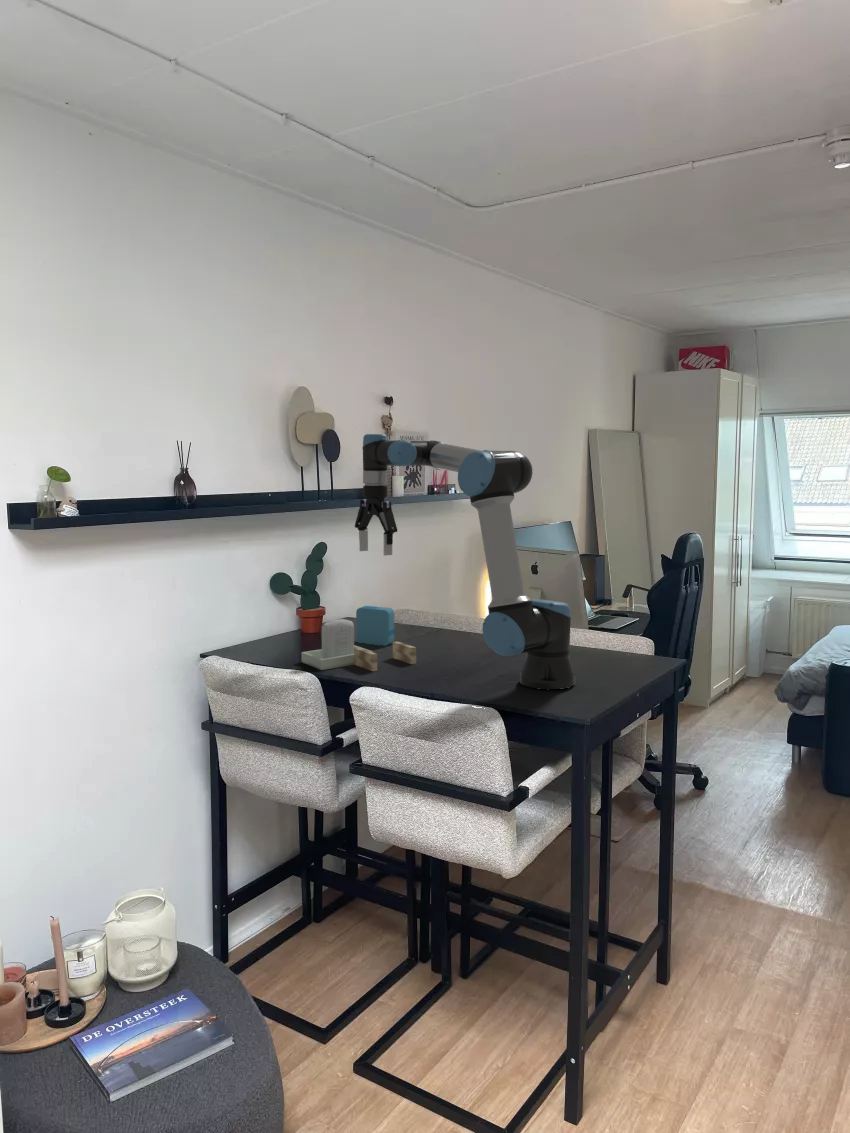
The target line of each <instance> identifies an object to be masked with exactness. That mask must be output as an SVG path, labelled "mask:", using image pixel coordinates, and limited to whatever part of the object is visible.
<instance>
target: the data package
mask: <svg viewBox="0 0 850 1133" xmlns="http://www.w3.org/2000/svg"><path fill="white" fill-rule="evenodd" d="M355 613H356V614H355V617H356V618H355V620H356V621H355V624H356V625H355V627H356V631H355V632H356V634H355V635H356V641H357V642H358V643H359V644H362V643H365V644H364V645H371V644H374V645H373V646H381V645H382V647H386V646H388V645H391V644H393V642H395V611H394V609H393V608H391V607H383V606H373V605H364V606H362V607H359V608H357V609H356V612H355Z"/></svg>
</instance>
